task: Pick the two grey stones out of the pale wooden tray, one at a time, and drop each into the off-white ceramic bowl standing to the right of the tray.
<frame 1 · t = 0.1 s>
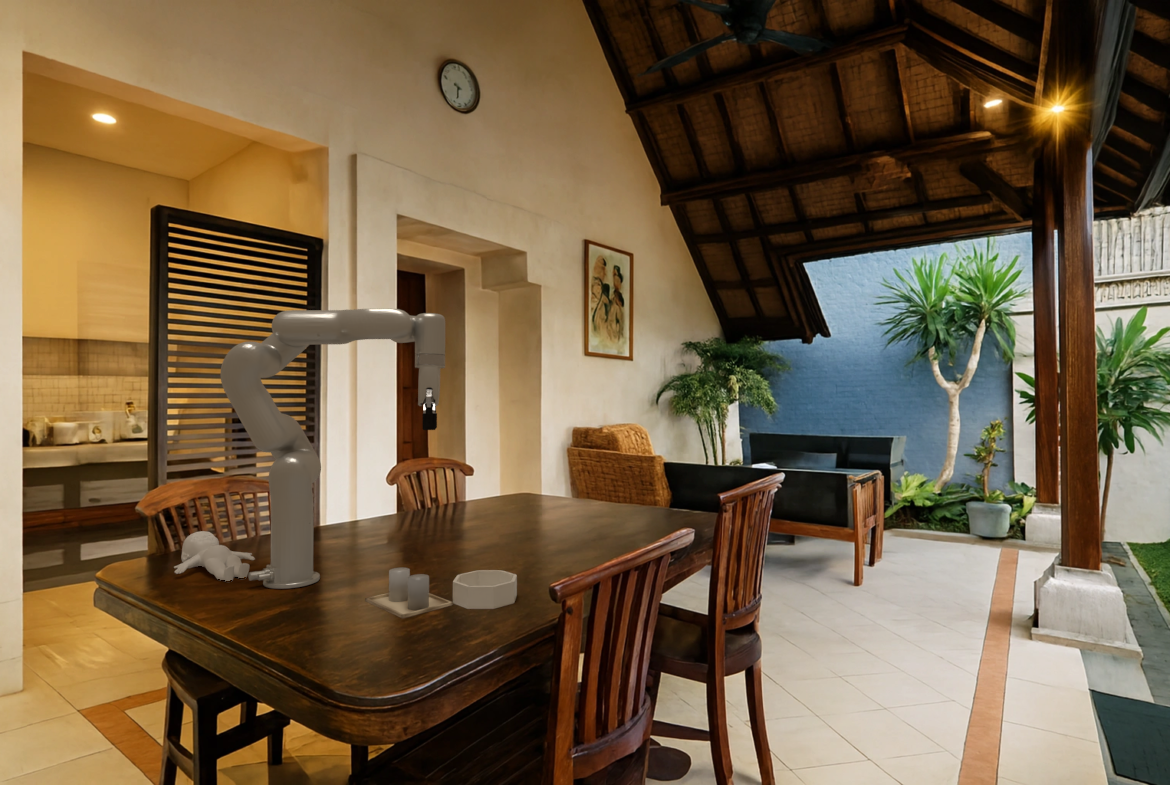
hand: (429, 429, 164), 37 cm above the table, tool pointing down, fingers open, 9 cm apart
tray: (408, 604, 139), on the table
doll: (213, 572, 168), on the table
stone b: (418, 607, 136), resting on tray
bowl: (485, 600, 142), on the table
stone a: (399, 599, 142), resting on tray
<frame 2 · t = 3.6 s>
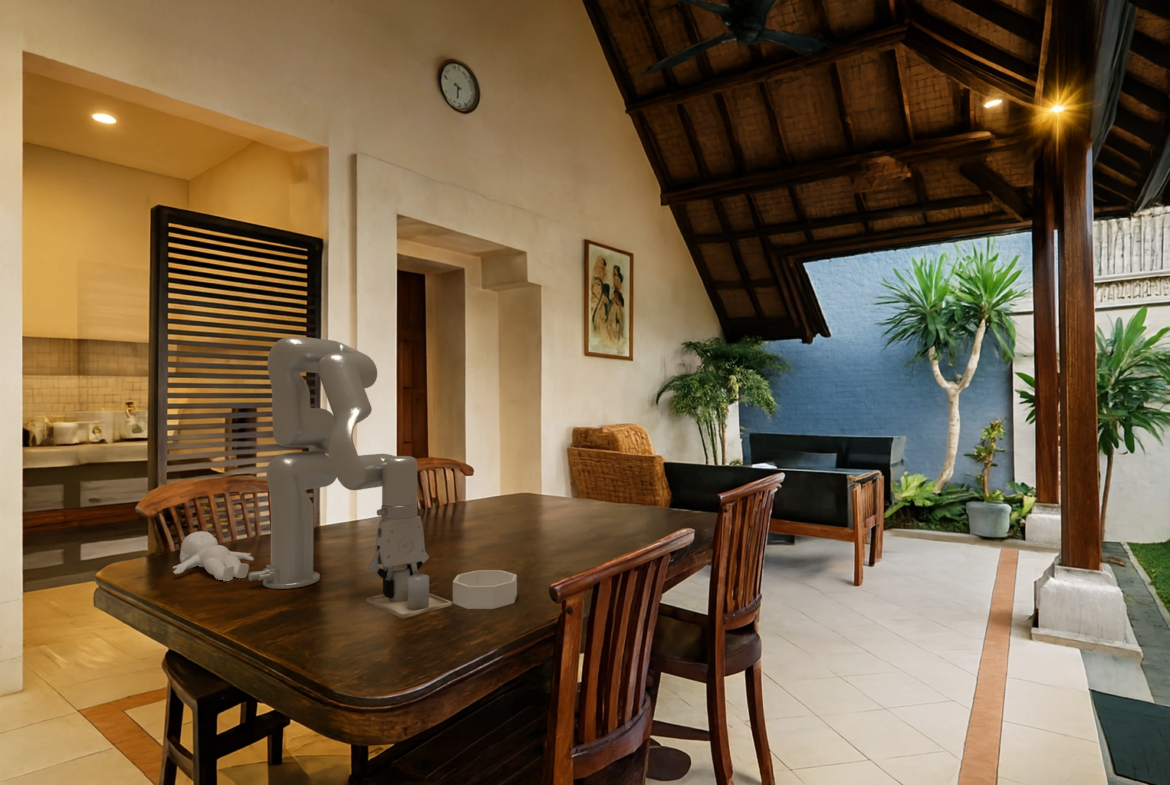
hand: (399, 593, 142), 2 cm above the table, tool pointing down, fingers closed on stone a, 4 cm apart
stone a: (399, 599, 142), resting on tray, touching gripper
everything else where it was.
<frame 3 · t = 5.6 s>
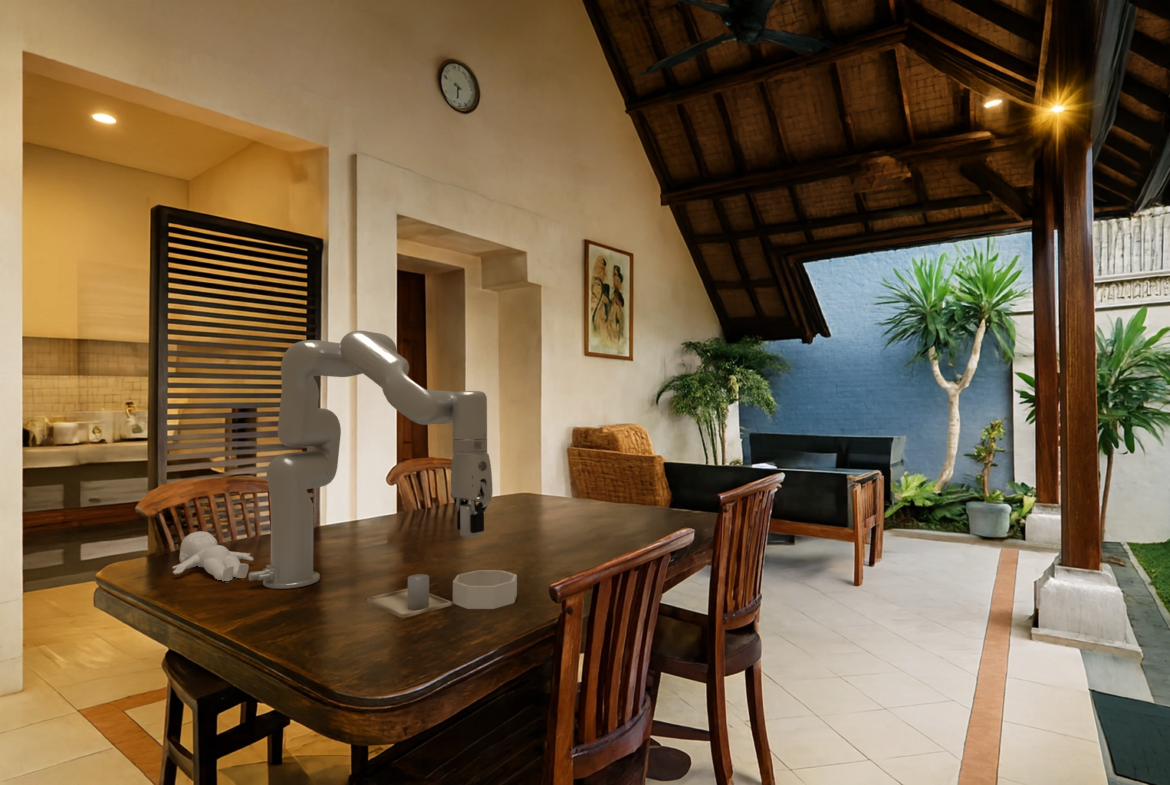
hand: (470, 529, 141), 16 cm above the table, tool pointing down, fingers closed on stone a, 4 cm apart
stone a: (470, 534, 141), point 15 cm above the table, touching gripper
everything else where it was.
when the fingers open (5 cm above the table, at t = 7.7 s): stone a drops 3 cm, resting on bowl.
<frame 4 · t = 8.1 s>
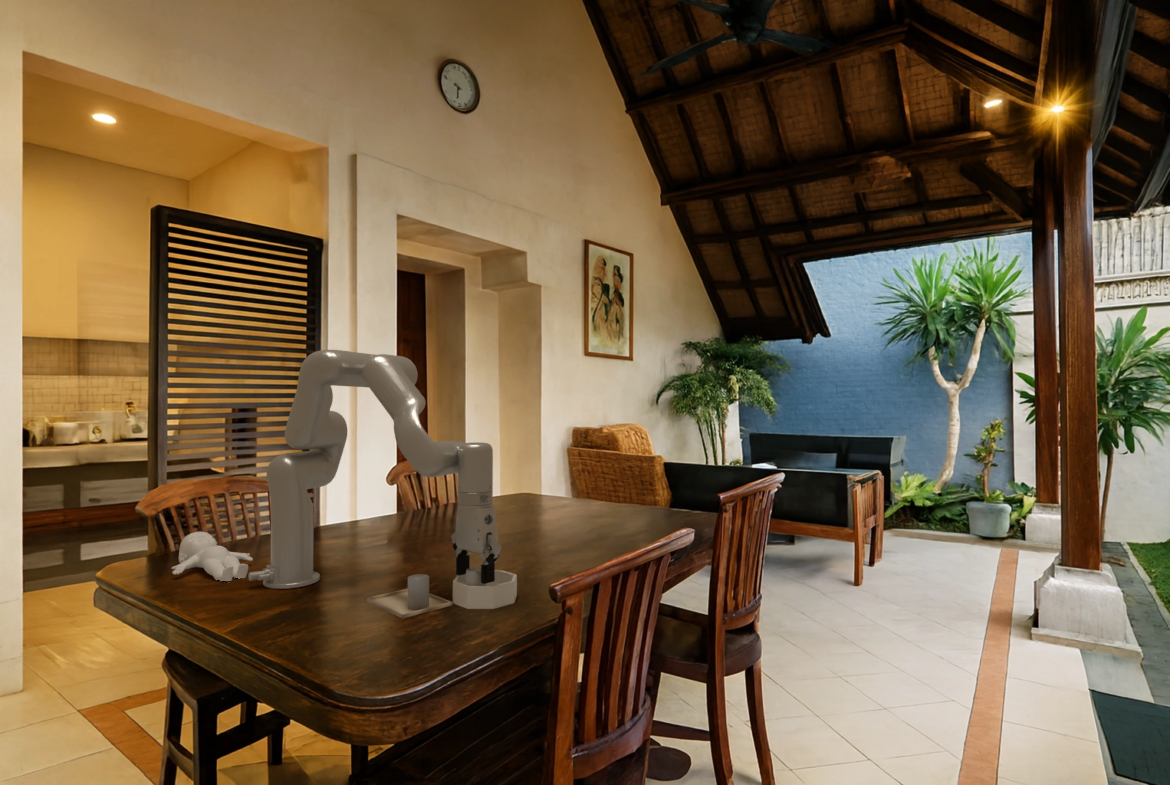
hand: (475, 578, 140), 6 cm above the table, tool pointing down, fingers open, 8 cm apart
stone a: (474, 599, 140), point 1 cm above the table, touching bowl
everything else where it was.
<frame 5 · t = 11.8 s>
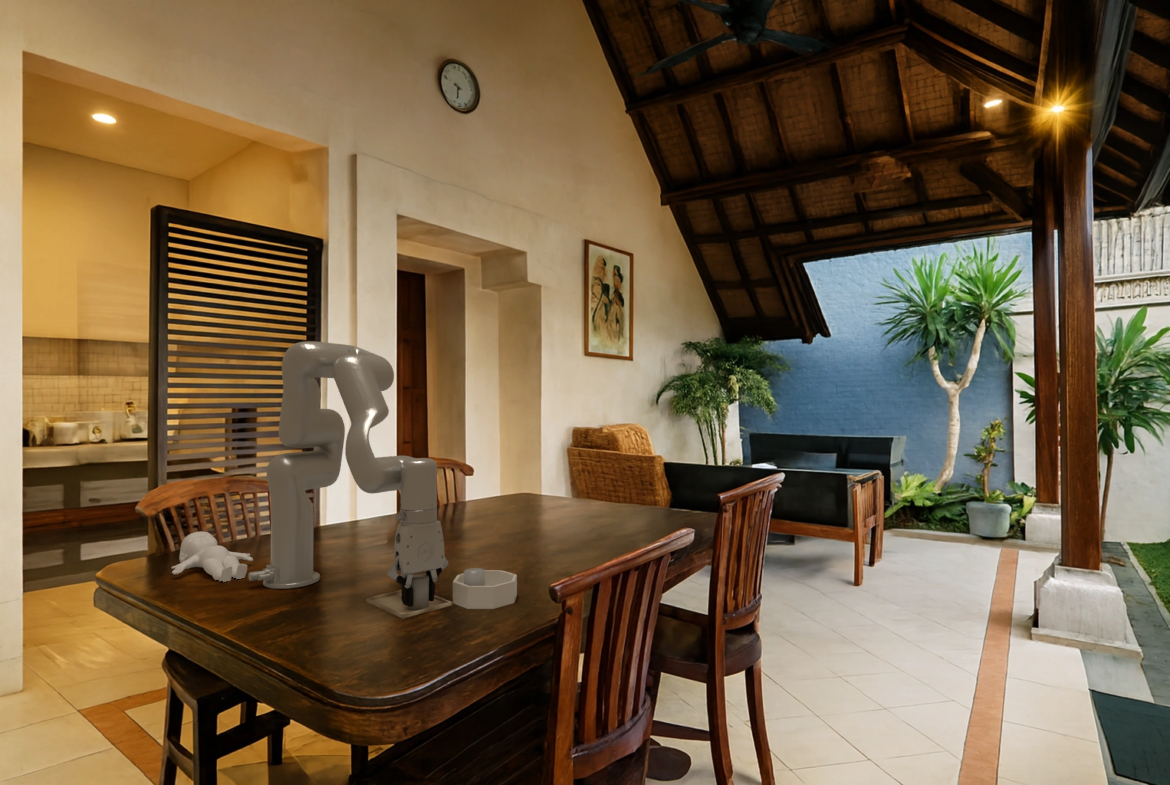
hand: (418, 601, 137), 2 cm above the table, tool pointing down, fingers closed on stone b, 4 cm apart
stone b: (418, 607, 136), resting on tray, touching gripper
everything else where it was.
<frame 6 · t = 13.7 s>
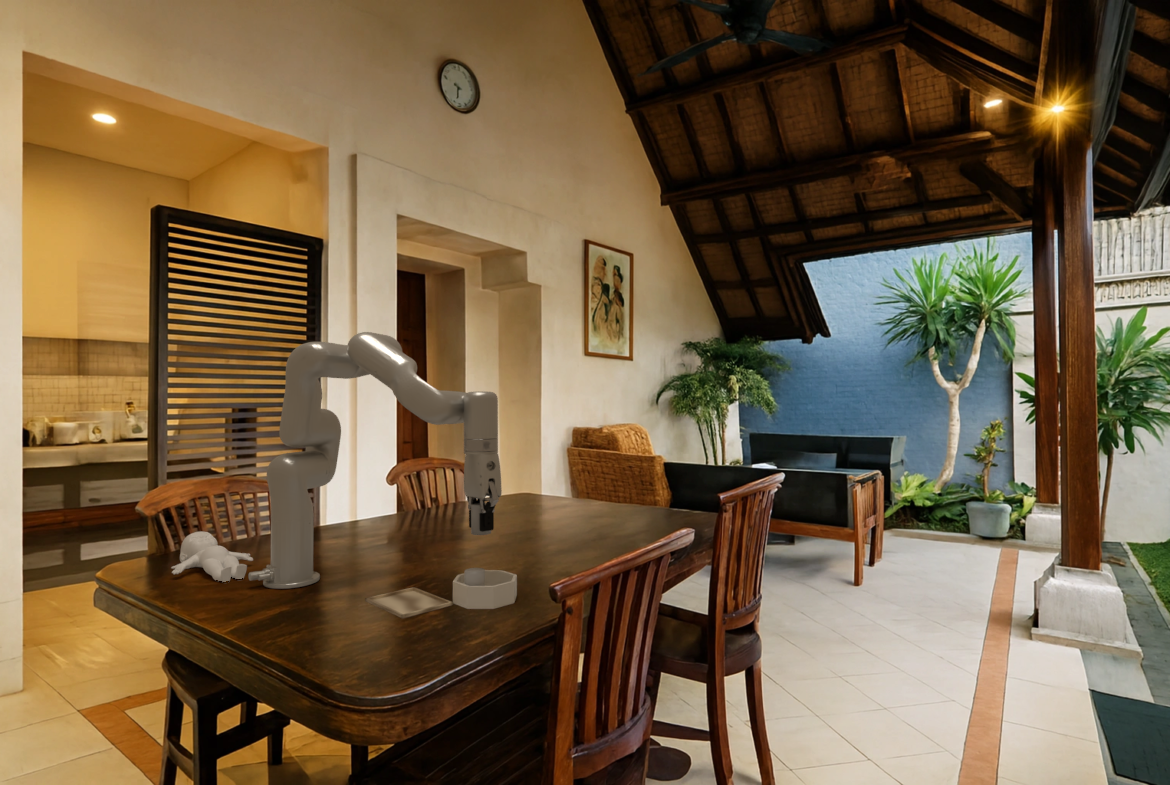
hand: (481, 528, 143), 16 cm above the table, tool pointing down, fingers closed on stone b, 4 cm apart
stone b: (481, 533, 143), point 15 cm above the table, touching gripper
everything else where it was.
when the fingers open (5 cm above the table, at t = 15.9 s): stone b drops 3 cm, resting on bowl.
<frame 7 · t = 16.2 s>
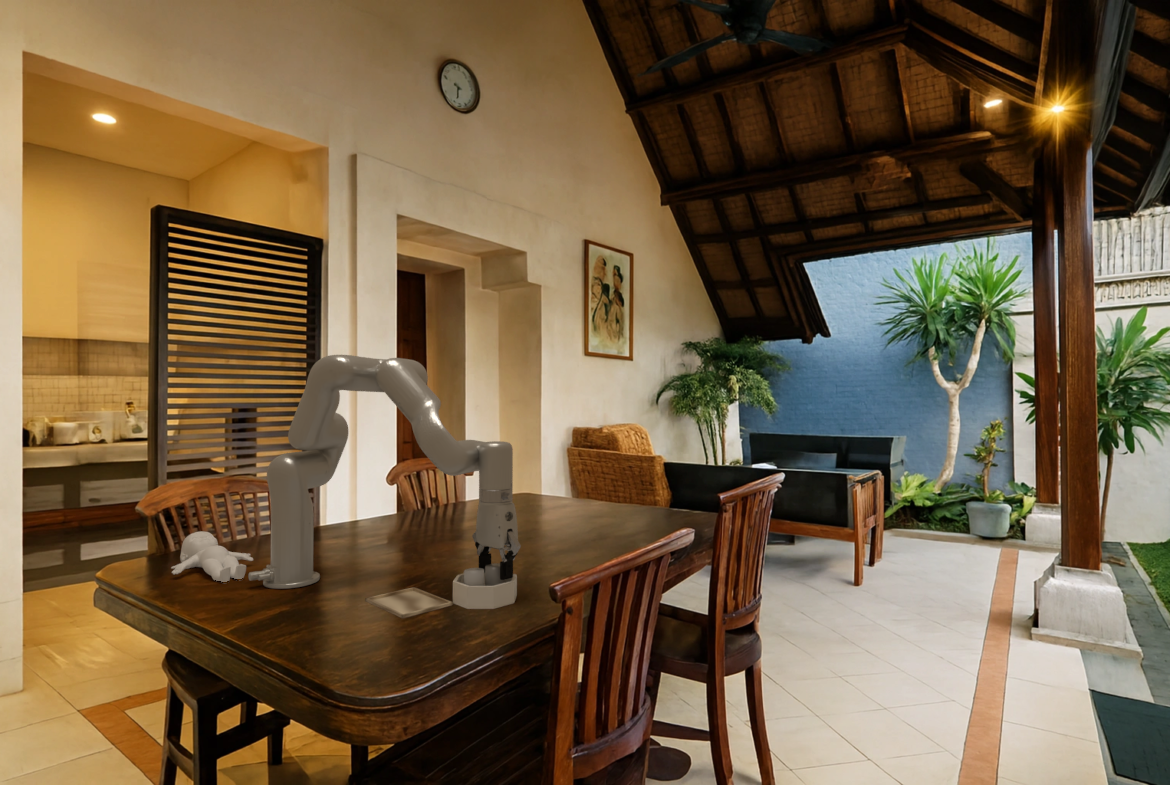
hand: (495, 574, 144), 5 cm above the table, tool pointing down, fingers open, 7 cm apart
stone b: (495, 594, 144), point 1 cm above the table, touching bowl
everything else where it was.
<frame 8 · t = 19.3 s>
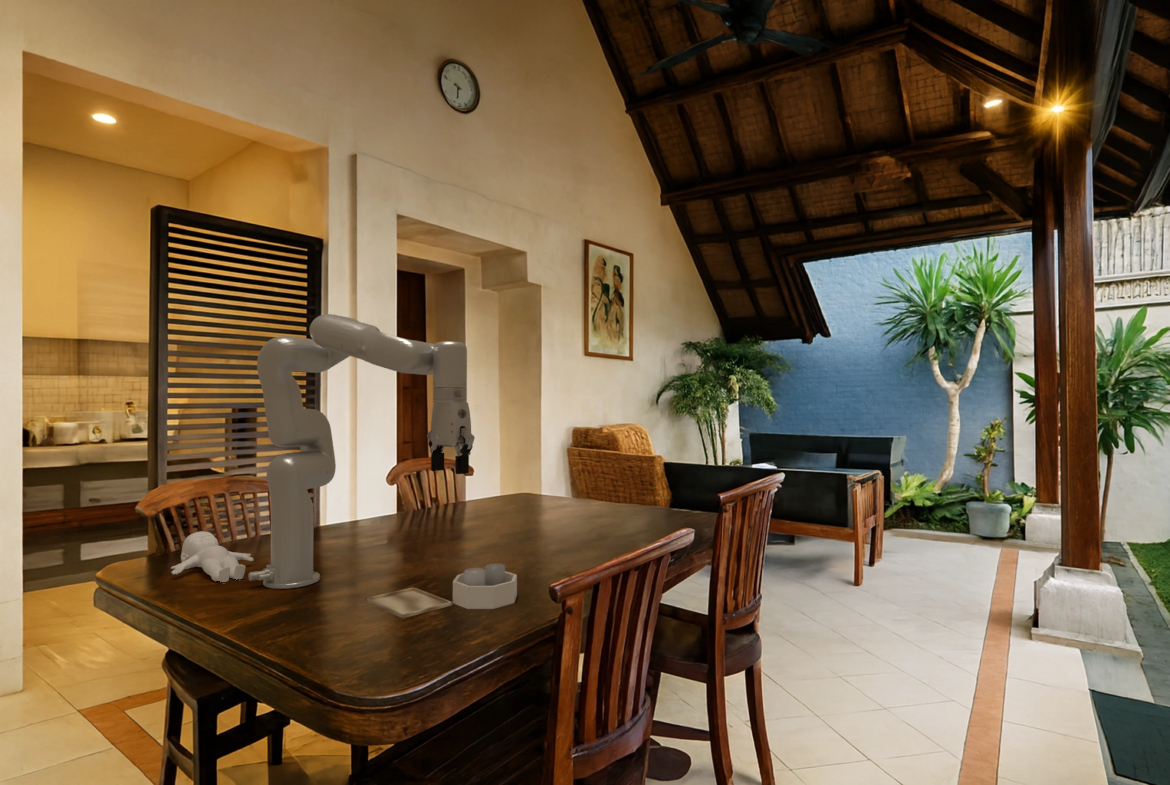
hand: (449, 472, 145), 28 cm above the table, tool pointing down, fingers open, 9 cm apart
nothing on the table moved.
at the end: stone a inside the target area on the bowl (2.9 cm from its centre), point 0.9 cm above the bowl's base; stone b inside the target area on the bowl (2.8 cm from its centre), point 0.8 cm above the bowl's base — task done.
